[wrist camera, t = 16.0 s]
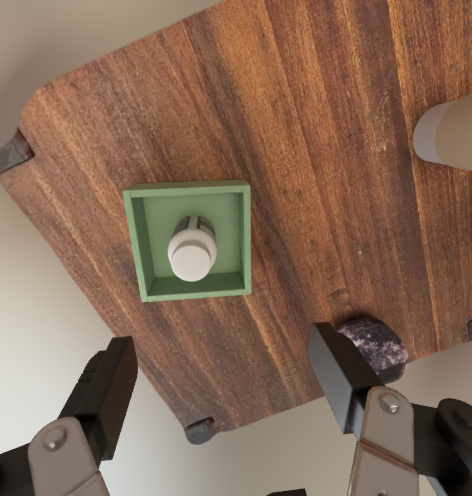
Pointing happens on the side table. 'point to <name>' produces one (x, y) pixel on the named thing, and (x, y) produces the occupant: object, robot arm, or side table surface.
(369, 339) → the mineral specimen
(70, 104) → the side table surface
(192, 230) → the pill bottle
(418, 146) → the coffee cup
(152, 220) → the bin
